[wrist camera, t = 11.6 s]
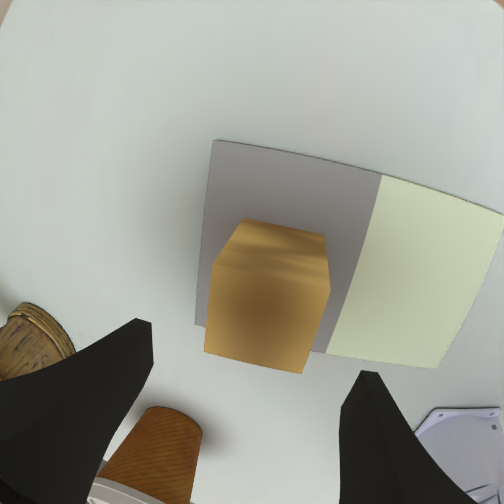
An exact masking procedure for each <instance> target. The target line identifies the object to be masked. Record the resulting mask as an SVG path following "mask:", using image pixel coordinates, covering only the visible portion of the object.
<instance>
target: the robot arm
mask: <svg viewBox="0 0 504 504" xmlns="http://www.w3.org/2000/svg"><path fill="white" fill-rule="evenodd" d="M153 365H154V362H153V346H152V325H151V323H150V322H147V321H144V320H141V319H138V318H135V319H133V320H132V321H130V322H128V323H127V324H125V325H123V326H122V327H120V328H118V329H117V330H115V331H113V332H112V333H110V334H108V335H107V336H105V337H104V338H102V339H100V340H98V341H97V342H95V343H93V344H92V345H90V346H88V347H86V348H84V349H82V350H81V351H79V352H77V353H75V354H73V355H71V356H69V357H67V358H65V359H63V360H61V361H59V362H57V363H54V364H52V365H49V366H47V367H44V368H42V369H39V370H37V371H34V372H31V373H27V374H24V375H21V376H17V377H14V378H11V379H6V380H2V381H0V504H86V502H87V498H88V495H89V492H90V490H91V487H92V484H93V481H94V478H95V476H96V473H97V471H98V468H99V466H100V463H101V461H102V459H103V457H104V454H105V452H106V450H107V448H108V446H109V443H110V441H111V439H112V437H113V436H114V434H115V432H116V430H117V429H118V427H119V426H120V424H121V422H122V421H123V419H124V418H125V416H126V414H127V413H128V411H129V410H130V408H131V406H132V405H133V403H134V402H135V400H136V398H137V397H138V395H139V393H140V392H141V390H142V388H143V387H144V385H145V382H146V380H147V378H148V376H149V374H150V371H151V369H152V367H153ZM501 412H502V410H501V408H489V409H435V410H434V411H432V412H431V414H430V415H429V416H428V417H427V419H426V420H425V421H424V422H423V423H422V425H421V426H420V427H419V428H418V429H417V431H416V432H415V433H414V432H413V431H412V429H411V428H410V426H409V424H408V423H407V421H406V420H405V418H404V416H403V415H402V413H401V411H400V410H399V408H398V406H397V405H396V403H395V401H394V400H393V398H392V396H391V394H390V393H389V391H388V389H387V387H386V386H385V384H384V382H383V380H382V379H381V377H380V375H379V374H378V372H371V371H364V370H361V372H360V374H359V376H358V378H357V379H356V381H355V383H354V385H353V387H352V389H351V391H350V392H349V394H348V396H347V398H346V399H345V401H344V403H343V405H342V406H341V413H340V425H339V452H340V499H339V504H504V433H503V430H502V428H501V425H500V423H499V420H498V416H499V415H500V414H501Z"/></svg>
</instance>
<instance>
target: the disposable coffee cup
mask: <svg viewBox="0 0 504 504" xmlns="http://www.w3.org/2000/svg"><path fill="white" fill-rule="evenodd" d="M201 439H202V431H201V429H200V427H199V426H198V425H197V424H196V423H195V422H194V421H193V420H192V419H190V418H189V417H187V416H186V415H184V414H182V413H180V412H177V411H175V410H172V409H168V408H163V407H152V408H149V409H148V410H146V412H145V413H144V414H143V416H142V417H141V418H140V420H139V421H138V422H137V424H136V425H135V426H134V427H133V429H132V430H131V432H130V433H129V434H128V435H127V437H126V438H125V439H124V441H123V442H122V443H121V445H120V446H119V447H118V449H117V450H116V451H115V453H114V454H113V455H112V457H111V458H110V459H109V461H108V462H107V463H106V464H105V466H104V467H103V469H102V470H101V471H100V472H99V474H98V475H97V476H96V477H95V478H94V481H93V484H92V487H91V490H90V492H89V495H88V498H87V501H88V502H89V503H90V504H190V498H191V493H192V488H193V482H194V477H195V471H196V466H197V460H198V455H199V450H200V445H201Z"/></svg>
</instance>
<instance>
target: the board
mask: <svg viewBox="0 0 504 504" xmlns="http://www.w3.org/2000/svg"><path fill="white" fill-rule="evenodd" d="M243 218H248V219H253V220H257V221H262V222H267V223H272V224H277V225H281V226H286V227H291V228H295V229H300V230H305V231H309V232H314V233H318V234H323V235H325V243H326V252H327V260H328V269H329V279H330V289H331V291H330V294H329V297H328V300H327V303H326V306H325V309H324V312H323V315H322V318H321V321H320V324H319V327H318V330H317V333H316V336H315V339H314V341H313V344H312V347H311V350H310V351H314V352H320V353H325V354H331V355H337V356H343V357H349V358H355V359H361V360H368V361H375V362H382V363H389V364H397V365H405V366H413V367H422V368H432V369H436V368H437V367H438V365H439V364H440V362H441V360H442V359H443V357H444V355H445V354H446V352H447V350H448V349H449V347H450V345H451V343H452V342H453V340H454V338H455V336H456V335H457V333H458V331H459V329H460V327H461V325H462V324H463V322H464V320H465V318H466V316H467V314H468V312H469V310H470V308H471V306H472V304H473V302H474V300H475V298H476V296H477V293H478V291H479V289H480V287H481V285H482V282H483V280H484V278H485V276H486V273H487V271H488V268H489V266H490V264H491V261H492V259H493V256H494V254H495V251H496V248H497V246H498V243H499V240H500V237H501V234H502V232H503V229H504V215H502V214H500V213H497V212H495V211H492V210H490V209H487V208H485V207H482V206H479V205H477V204H474V203H471V202H469V201H466V200H463V199H460V198H457V197H455V196H452V195H449V194H446V193H443V192H440V191H437V190H434V189H431V188H428V187H425V186H422V185H418V184H415V183H412V182H409V181H405V180H402V179H398V178H395V177H392V176H388V175H384V174H381V173H377V172H373V171H370V170H366V169H362V168H358V167H354V166H350V165H346V164H342V163H338V162H334V161H329V160H325V159H320V158H316V157H311V156H307V155H302V154H297V153H292V152H287V151H282V150H276V149H271V148H265V147H260V146H254V145H248V144H242V143H235V142H228V141H222V140H213V145H212V153H211V160H210V168H209V176H208V185H207V193H206V202H205V211H204V220H203V230H202V240H201V250H200V261H199V273H198V285H197V298H196V312H195V325H199V326H203V327H206V322H207V311H208V301H209V291H210V282H211V273H212V265H213V263H214V261H215V260H216V258H217V257H218V255H219V254H220V252H221V251H222V249H223V248H224V246H225V245H226V243H227V242H228V240H229V239H230V237H231V236H232V234H233V233H234V231H235V230H236V228H237V227H238V225H239V224H240V222H241V221H242V219H243Z"/></svg>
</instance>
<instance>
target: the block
mask: <svg viewBox="0 0 504 504" xmlns="http://www.w3.org/2000/svg"><path fill="white" fill-rule="evenodd" d="M330 291H331V289H330V279H329V269H328V260H327V252H326V243H325V235H323V234H318V233H314V232H309V231H305V230H300V229H295V228H291V227H286V226H281V225H277V224H272V223H267V222H262V221H257V220H253V219H248V218H243V219H242V221H241V222H240V224H239V225H238V227H237V228H236V230H235V231H234V233H233V234H232V236H231V237H230V239H229V240H228V242H227V243H226V245H225V246H224V248H223V249H222V251H221V252H220V254H219V255H218V257H217V258H216V260H215V261H214V263H213V265H212V273H211V282H210V291H209V301H208V311H207V322H206V332H205V344H204V352H206V353H210V354H214V355H217V356H221V357H225V358H229V359H233V360H237V361H242V362H246V363H250V364H255V365H259V366H264V367H268V368H273V369H278V370H283V371H288V372H293V373H298V374H302V371H303V369H304V366H305V363H306V361H307V358H308V355H309V352H310V350H311V347H312V344H313V341H314V339H315V336H316V333H317V330H318V327H319V324H320V321H321V318H322V315H323V312H324V309H325V306H326V303H327V300H328V297H329V294H330Z"/></svg>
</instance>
